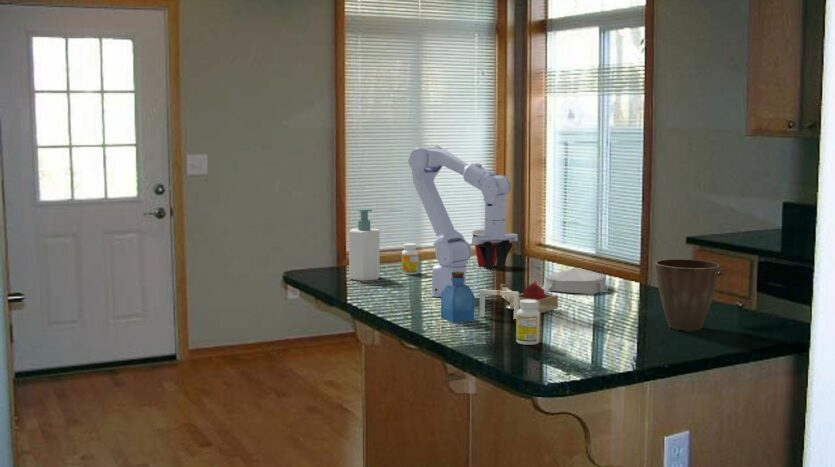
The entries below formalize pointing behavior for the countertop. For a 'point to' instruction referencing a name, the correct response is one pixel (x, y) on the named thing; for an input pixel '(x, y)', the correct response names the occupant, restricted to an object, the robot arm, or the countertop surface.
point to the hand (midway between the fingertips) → (494, 268)
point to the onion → (534, 292)
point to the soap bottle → (364, 250)
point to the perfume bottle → (457, 300)
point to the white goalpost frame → (498, 292)
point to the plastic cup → (478, 252)
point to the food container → (575, 281)
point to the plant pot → (686, 291)
